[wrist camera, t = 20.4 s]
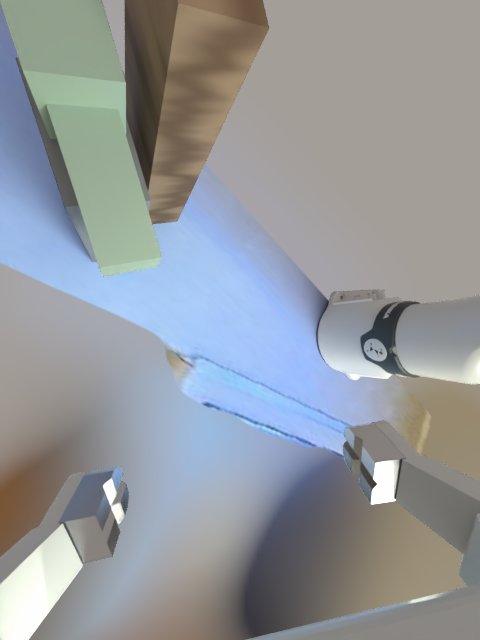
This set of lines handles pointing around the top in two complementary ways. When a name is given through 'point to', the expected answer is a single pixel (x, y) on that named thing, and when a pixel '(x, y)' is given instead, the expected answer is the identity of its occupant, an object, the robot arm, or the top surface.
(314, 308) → the top surface
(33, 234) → the top surface
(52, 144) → the gray block
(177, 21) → the walnut stand
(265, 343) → the top surface
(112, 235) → the green handle
